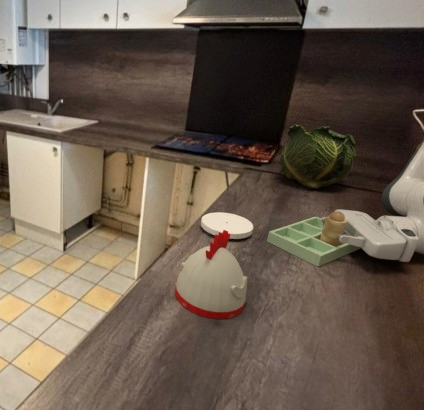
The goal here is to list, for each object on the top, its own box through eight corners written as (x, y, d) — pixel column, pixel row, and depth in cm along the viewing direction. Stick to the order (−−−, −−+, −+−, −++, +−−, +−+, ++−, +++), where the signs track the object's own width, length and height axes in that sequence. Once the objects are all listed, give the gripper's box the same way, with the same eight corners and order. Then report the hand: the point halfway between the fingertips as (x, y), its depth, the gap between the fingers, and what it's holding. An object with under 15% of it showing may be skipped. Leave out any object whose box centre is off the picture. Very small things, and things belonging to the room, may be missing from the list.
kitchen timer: (255, 297, 75) (270, 234, 69) (224, 329, 67) (238, 261, 61) (196, 270, 85) (205, 212, 79) (162, 295, 76) (169, 233, 70)
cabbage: (322, 194, 147) (348, 140, 142) (350, 203, 124) (382, 139, 118) (260, 174, 151) (283, 121, 146) (276, 179, 128) (304, 116, 123)
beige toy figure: (341, 248, 92) (353, 213, 88) (331, 252, 91) (343, 216, 87) (324, 241, 96) (334, 207, 92) (314, 244, 94) (324, 210, 90)
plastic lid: (223, 216, 112) (224, 208, 111) (262, 234, 101) (264, 226, 100) (190, 226, 106) (191, 218, 105) (228, 246, 95) (229, 238, 94)
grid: (364, 246, 95) (368, 236, 94) (317, 266, 86) (321, 255, 85) (312, 225, 106) (315, 216, 105) (266, 241, 97) (269, 231, 96)
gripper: (371, 205, 97) (316, 202, 99) (423, 242, 79) (354, 237, 81) (364, 226, 100) (310, 222, 102) (413, 266, 81) (346, 260, 83)
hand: (330, 229), depth 91 cm, fingers open, 8 cm apart
